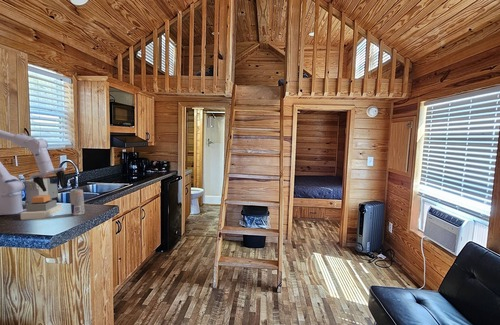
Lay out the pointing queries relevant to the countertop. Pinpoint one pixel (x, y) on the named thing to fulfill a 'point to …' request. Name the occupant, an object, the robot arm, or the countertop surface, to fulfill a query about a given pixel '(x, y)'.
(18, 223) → the countertop surface
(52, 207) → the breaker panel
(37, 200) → the button
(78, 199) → the energy drink
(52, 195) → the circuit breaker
